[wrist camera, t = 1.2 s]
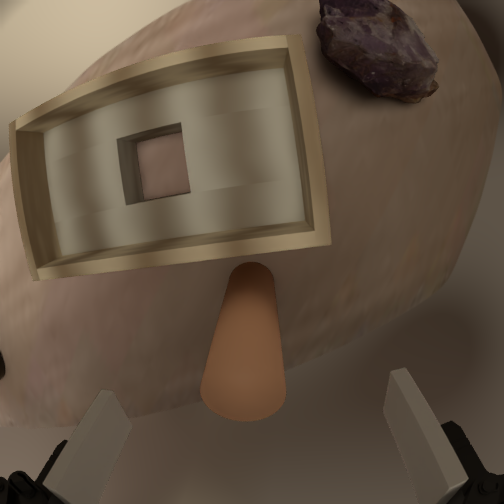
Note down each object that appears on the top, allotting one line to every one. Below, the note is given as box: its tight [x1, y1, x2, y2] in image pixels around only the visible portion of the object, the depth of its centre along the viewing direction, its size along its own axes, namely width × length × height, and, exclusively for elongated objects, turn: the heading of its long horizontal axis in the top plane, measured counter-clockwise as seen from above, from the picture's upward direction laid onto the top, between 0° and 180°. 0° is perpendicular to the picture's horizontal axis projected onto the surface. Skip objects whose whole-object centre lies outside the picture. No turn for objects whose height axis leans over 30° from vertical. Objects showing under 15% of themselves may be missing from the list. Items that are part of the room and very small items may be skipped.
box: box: [9, 34, 331, 281], centre depth 21 cm, size 24×14×8 cm, turn 98°
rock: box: [316, 0, 439, 103], centre depth 17 cm, size 12×9×10 cm
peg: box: [200, 262, 286, 421], centre depth 20 cm, size 4×4×15 cm
